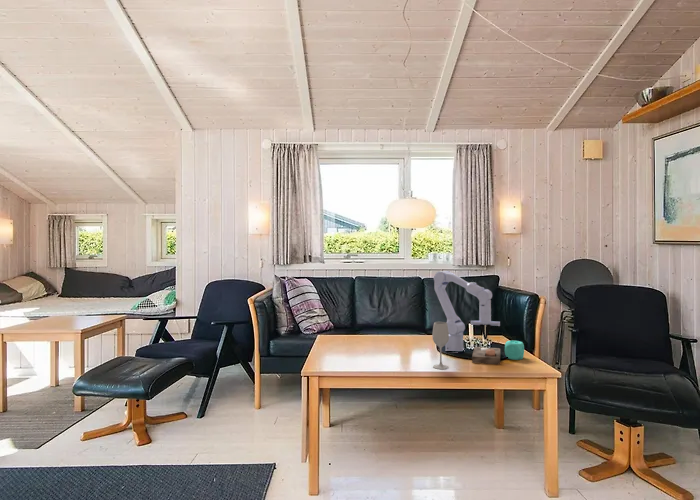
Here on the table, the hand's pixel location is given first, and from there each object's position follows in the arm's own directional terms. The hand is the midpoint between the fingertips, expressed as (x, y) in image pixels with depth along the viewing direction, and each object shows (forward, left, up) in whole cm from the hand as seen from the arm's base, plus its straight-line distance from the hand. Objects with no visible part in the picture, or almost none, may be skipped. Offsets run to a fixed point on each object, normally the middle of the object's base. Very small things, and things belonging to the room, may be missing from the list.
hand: (485, 339), depth 232 cm
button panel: (+1, -5, -8) cm, 10 cm away
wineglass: (-19, -28, -9) cm, 35 cm away
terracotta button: (+3, -10, -6) cm, 12 cm away
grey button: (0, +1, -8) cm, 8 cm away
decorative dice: (+14, -1, -9) cm, 17 cm away
